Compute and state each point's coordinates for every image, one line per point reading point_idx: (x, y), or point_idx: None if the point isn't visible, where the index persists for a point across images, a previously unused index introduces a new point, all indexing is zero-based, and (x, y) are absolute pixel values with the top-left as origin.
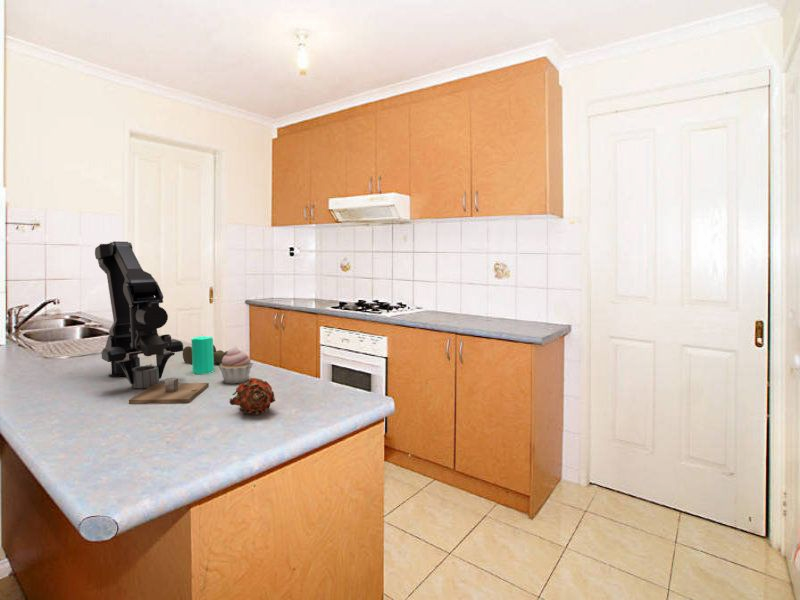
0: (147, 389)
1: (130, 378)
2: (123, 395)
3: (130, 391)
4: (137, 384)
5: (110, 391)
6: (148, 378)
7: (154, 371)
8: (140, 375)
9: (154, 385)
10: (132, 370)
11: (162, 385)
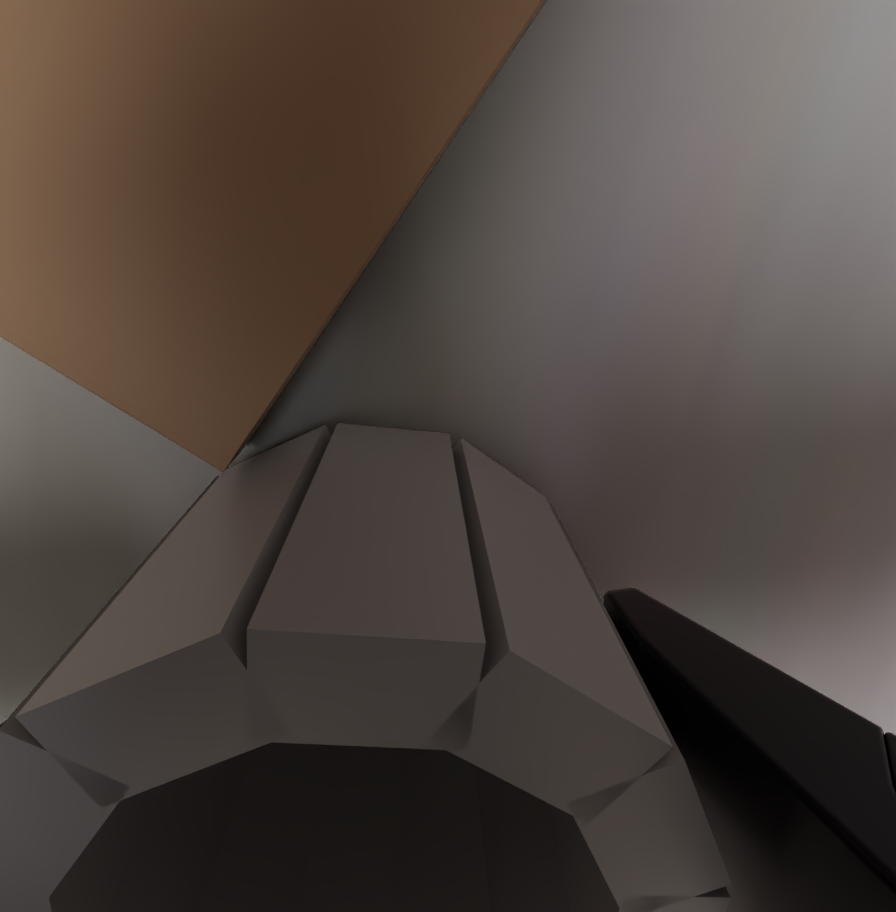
0: (454, 50)
1: (708, 642)
2: (817, 254)
3: (646, 439)
4: (547, 516)
5: (844, 614)
6: (338, 494)
7: (100, 643)
8: (530, 587)
9: (262, 316)
10: (698, 897)
11: (98, 196)
